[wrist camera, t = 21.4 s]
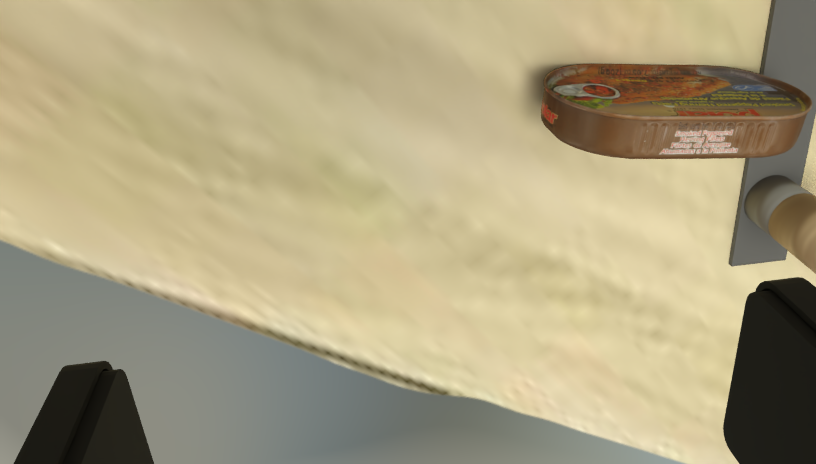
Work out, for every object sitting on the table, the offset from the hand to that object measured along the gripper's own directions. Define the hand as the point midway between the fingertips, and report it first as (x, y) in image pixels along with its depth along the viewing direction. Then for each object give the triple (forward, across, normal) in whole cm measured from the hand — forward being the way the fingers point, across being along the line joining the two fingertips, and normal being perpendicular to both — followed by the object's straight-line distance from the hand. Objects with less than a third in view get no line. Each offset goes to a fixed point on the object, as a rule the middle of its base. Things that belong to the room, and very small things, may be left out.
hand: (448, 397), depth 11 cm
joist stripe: (+33, -27, +9) cm, 44 cm away
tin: (+34, -18, +6) cm, 38 cm away
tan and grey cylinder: (+33, -27, +15) cm, 45 cm away
